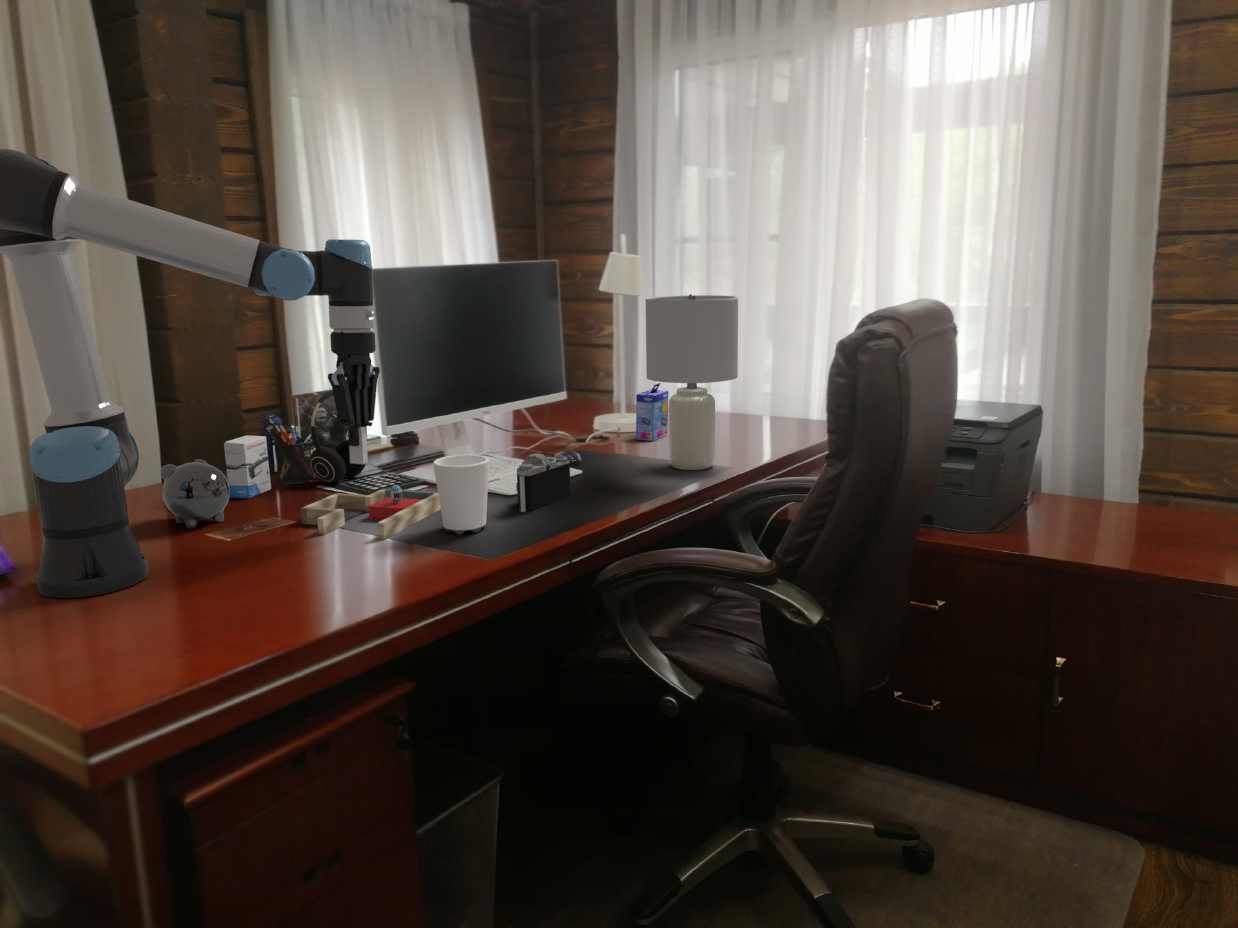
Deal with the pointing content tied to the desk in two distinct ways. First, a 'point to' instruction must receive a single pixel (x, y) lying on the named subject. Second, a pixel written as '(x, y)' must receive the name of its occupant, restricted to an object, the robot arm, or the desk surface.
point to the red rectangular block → (390, 505)
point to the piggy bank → (195, 492)
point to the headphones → (331, 456)
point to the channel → (348, 506)
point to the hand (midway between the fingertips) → (359, 462)
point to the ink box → (247, 466)
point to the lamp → (692, 367)
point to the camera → (542, 482)
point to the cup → (462, 491)
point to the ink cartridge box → (651, 414)
